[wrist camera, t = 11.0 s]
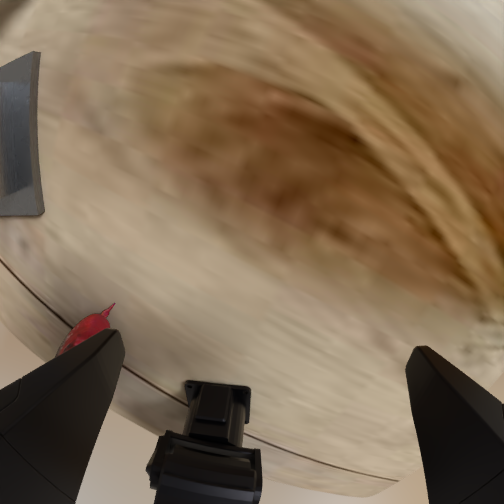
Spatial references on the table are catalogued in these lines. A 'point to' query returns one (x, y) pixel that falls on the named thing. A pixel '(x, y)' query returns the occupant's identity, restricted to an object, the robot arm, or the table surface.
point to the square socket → (19, 138)
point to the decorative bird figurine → (85, 330)
